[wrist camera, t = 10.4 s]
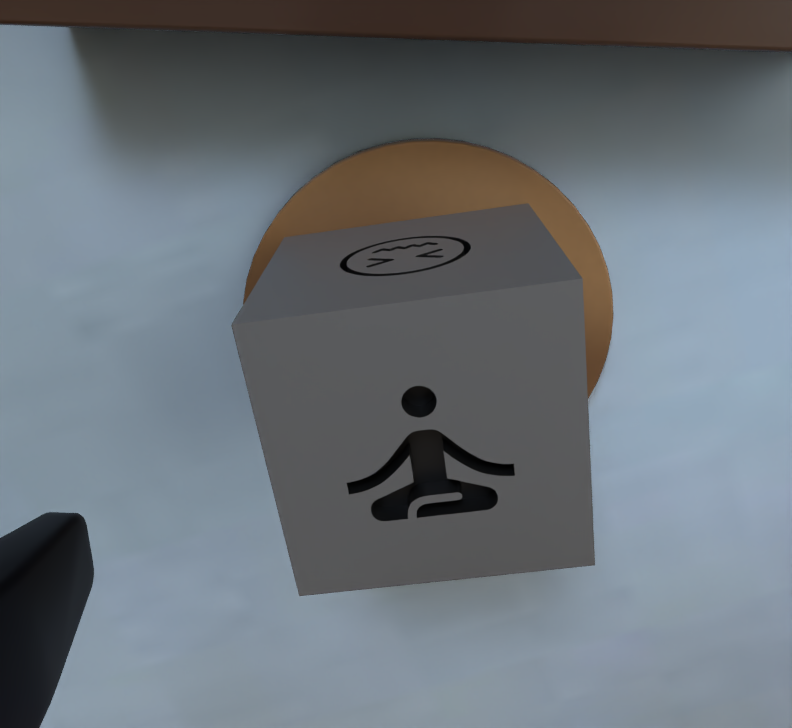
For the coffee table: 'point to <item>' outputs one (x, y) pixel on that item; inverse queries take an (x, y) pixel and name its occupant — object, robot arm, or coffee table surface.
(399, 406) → the dice cube
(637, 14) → the holder
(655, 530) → the coffee table surface
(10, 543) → the robot arm
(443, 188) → the coaster
